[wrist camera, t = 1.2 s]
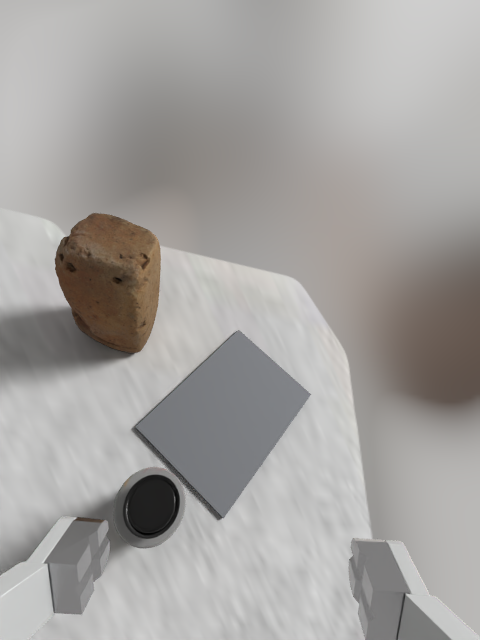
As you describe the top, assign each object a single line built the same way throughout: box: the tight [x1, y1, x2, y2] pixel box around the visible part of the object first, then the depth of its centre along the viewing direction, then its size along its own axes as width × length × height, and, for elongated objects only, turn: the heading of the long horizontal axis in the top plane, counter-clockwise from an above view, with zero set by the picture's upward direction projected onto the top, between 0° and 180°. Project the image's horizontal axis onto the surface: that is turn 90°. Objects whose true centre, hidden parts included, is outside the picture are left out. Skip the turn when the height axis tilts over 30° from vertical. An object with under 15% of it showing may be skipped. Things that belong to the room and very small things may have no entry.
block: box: [55, 213, 161, 353], centre depth 39 cm, size 11×8×20 cm
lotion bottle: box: [113, 467, 185, 548], centre depth 29 cm, size 6×6×20 cm
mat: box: [136, 330, 311, 518], centre depth 45 cm, size 22×16×1 cm
